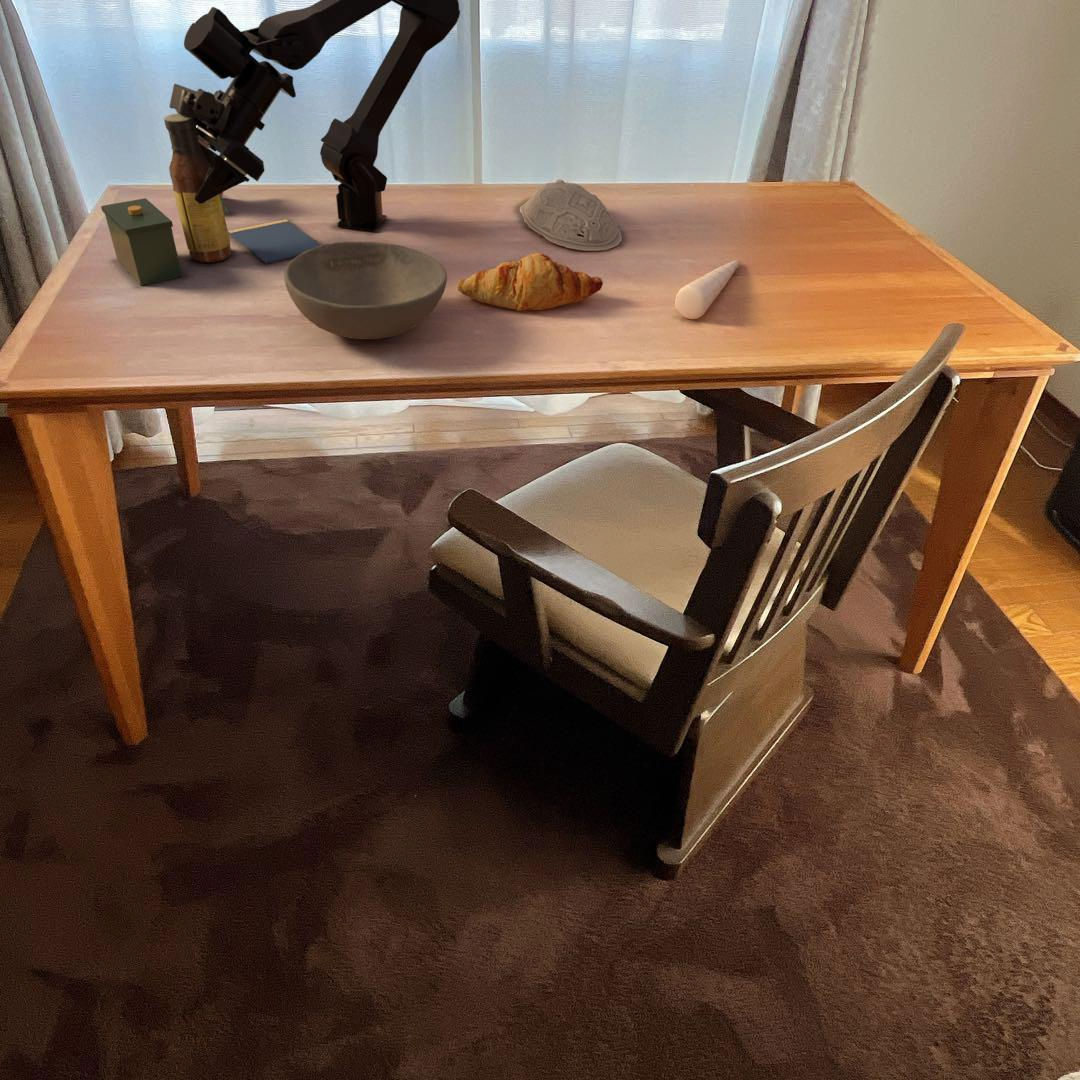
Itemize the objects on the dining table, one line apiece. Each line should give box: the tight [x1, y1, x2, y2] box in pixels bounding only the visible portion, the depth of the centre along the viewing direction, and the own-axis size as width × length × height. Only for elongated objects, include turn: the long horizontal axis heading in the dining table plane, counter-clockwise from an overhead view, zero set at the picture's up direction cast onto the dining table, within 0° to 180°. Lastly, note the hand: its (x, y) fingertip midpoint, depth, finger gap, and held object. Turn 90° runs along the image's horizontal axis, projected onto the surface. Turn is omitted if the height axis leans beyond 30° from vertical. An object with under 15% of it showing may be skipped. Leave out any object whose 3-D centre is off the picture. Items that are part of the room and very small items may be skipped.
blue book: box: [228, 218, 321, 265], centre depth 139 cm, size 10×14×1 cm
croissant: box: [456, 252, 604, 311], centre depth 126 cm, size 21×10×8 cm, turn 97°
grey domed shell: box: [519, 178, 623, 252], centre depth 150 cm, size 16×25×7 cm, turn 19°
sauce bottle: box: [163, 113, 232, 263], centre depth 127 cm, size 7×6×20 cm
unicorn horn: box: [674, 259, 740, 320], centre depth 132 cm, size 5×24×5 cm, turn 149°
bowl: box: [283, 241, 448, 340], centre depth 117 cm, size 21×21×8 cm
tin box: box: [100, 198, 183, 286], centre depth 126 cm, size 6×10×9 cm, turn 38°
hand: (186, 193), depth 127 cm, fingers open, 8 cm apart
